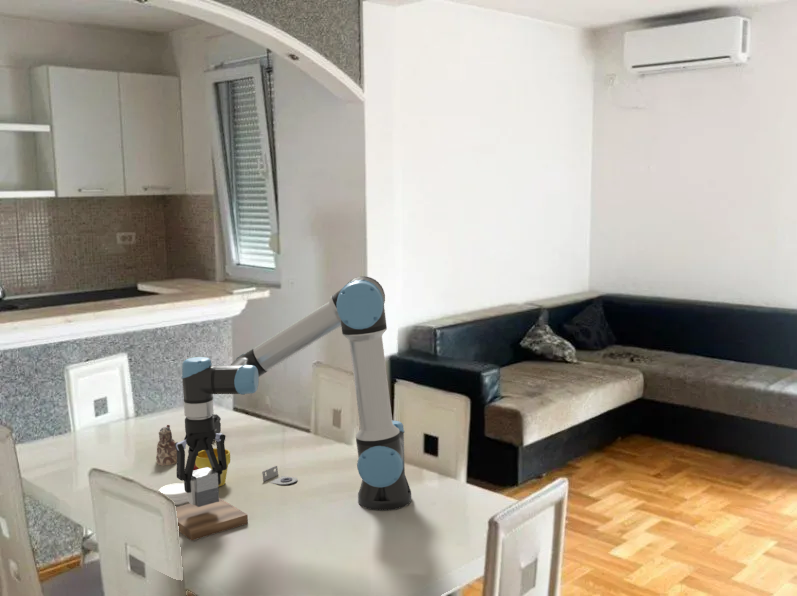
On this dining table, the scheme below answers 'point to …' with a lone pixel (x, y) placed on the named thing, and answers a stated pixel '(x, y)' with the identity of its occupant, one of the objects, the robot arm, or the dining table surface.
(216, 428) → the camera
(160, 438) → the figurine
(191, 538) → the cutting board
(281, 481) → the bracket
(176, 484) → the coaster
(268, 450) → the dining table surface
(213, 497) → the block
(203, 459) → the plant pot
